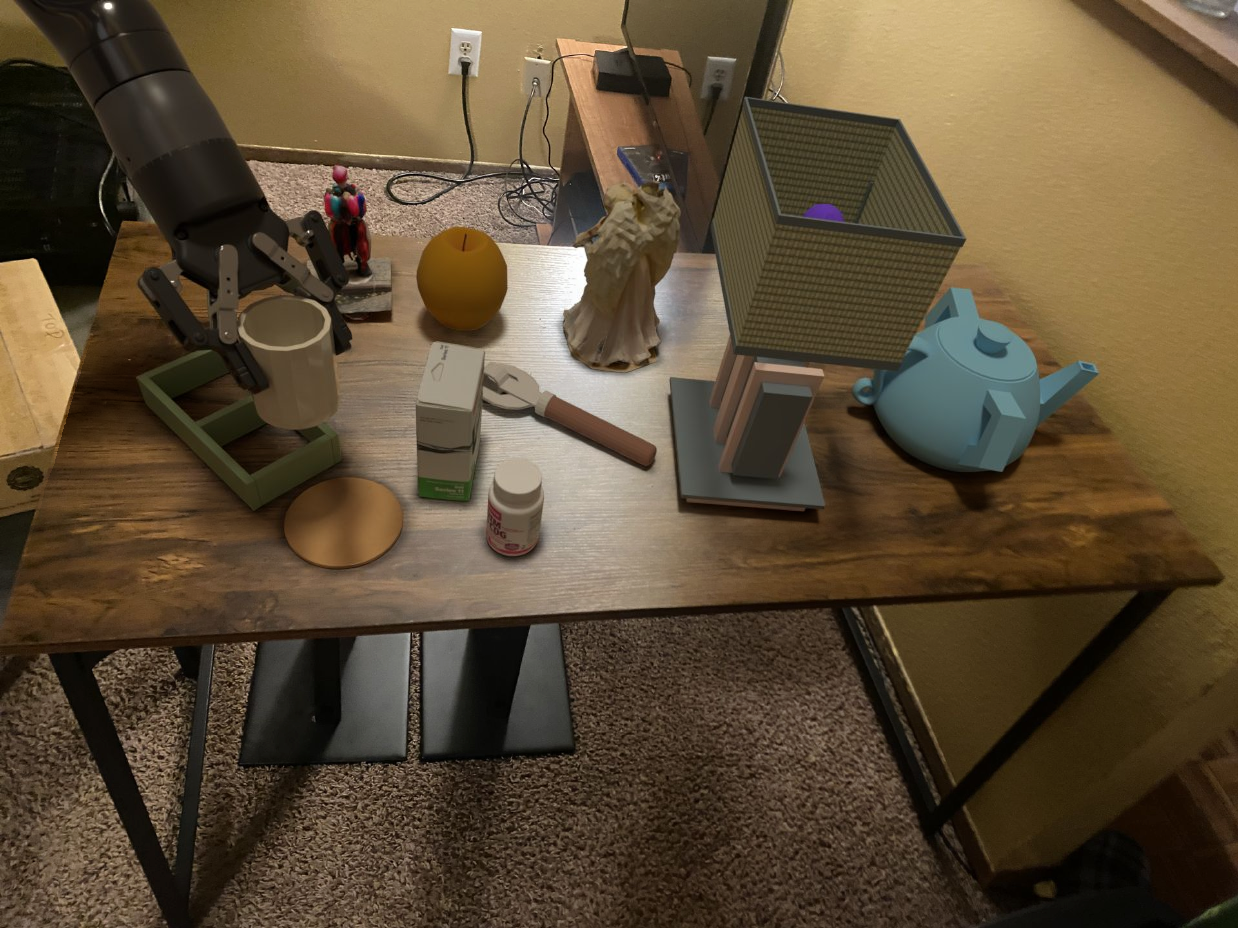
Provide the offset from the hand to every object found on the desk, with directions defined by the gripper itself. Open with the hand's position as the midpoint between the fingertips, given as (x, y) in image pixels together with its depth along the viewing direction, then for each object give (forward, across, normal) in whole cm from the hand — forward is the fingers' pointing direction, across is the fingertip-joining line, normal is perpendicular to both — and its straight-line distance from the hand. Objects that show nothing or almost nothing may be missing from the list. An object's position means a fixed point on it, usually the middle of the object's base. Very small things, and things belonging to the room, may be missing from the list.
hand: (304, 370), depth 63 cm
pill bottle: (+21, +10, +2) cm, 23 cm away
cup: (+2, 0, +4) cm, 5 cm away
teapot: (+36, +57, -14) cm, 69 cm away
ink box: (+14, +12, +9) cm, 20 cm away
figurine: (+12, +38, +11) cm, 42 cm away
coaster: (+13, 0, +10) cm, 16 cm away
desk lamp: (+27, +35, -4) cm, 44 cm away
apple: (+3, +27, +20) cm, 34 cm away
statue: (-5, +21, +29) cm, 36 cm away
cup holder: (+3, 0, +20) cm, 20 cm away
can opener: (+16, +24, +7) cm, 30 cm away
